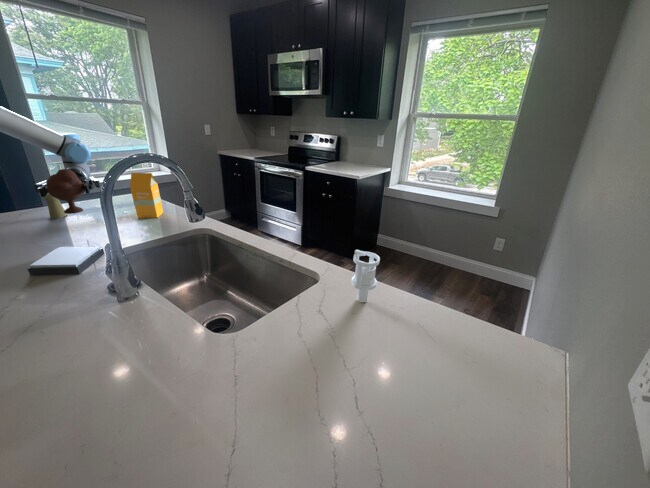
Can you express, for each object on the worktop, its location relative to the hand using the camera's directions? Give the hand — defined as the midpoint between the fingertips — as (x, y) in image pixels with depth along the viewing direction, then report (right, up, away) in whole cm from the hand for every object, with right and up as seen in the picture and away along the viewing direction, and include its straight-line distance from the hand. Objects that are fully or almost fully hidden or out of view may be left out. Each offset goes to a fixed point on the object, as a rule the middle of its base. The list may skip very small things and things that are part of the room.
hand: (64, 191), depth 100 cm
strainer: (+99, -34, -14) cm, 105 cm away
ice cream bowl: (-2, -6, +7) cm, 9 cm away
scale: (+4, -24, -2) cm, 25 cm away
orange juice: (+5, -4, +42) cm, 42 cm away
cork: (-34, -5, +36) cm, 50 cm away
